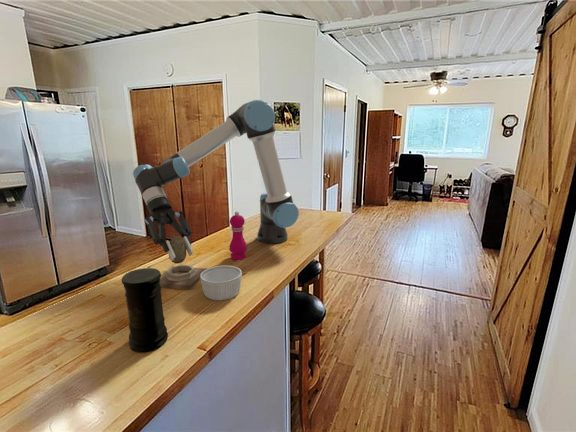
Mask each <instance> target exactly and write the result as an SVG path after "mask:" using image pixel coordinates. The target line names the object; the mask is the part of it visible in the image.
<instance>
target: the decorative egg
mask: <svg viewBox="0 0 576 432" xmlns="http://www.w3.org/2000/svg"><path fill="white" fill-rule="evenodd" d="M182 239H183V238H182V237H181V236H179V235H173V237H172V238H171V240H170V241H169V243H170V245H171V247H172V249H173V251H174V254H175V256H176V257H175V259H174V260H173V261H171V259H170V257H169V254H168V253H167V255H168V258H169V260H170V261H171V262H172V263H173V264H182V263H183V262H184V261H185V260H186V258H187V250H186V247H185V244H184V242H183V240H182Z"/></svg>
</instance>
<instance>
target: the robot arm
mask: <svg viewBox="0 0 576 432" xmlns="http://www.w3.org/2000/svg"><path fill="white" fill-rule="evenodd" d="M275 120H276V114H275V110H274V108H273V107H272V106H271V104H270V103H268V102H267V101H265V100H263V99H254V100H251V101H249V102H246V103H244V104H241V106H240V107H238V108H237V109H236V110H235V111H234V112H233V113H231V114H229V115H228V116H227V117H226V120H225V121H224V122H222V123H221V124H219V125H218V126H216V127H215V128H213V129H211V130H209V131H208V132H207V133H205V134H203V135H202V136H201V137H199V138H197V139H196V140H195V141H193V142H191V143H190V144H188V145H186V146H184V147H183V148H182V149H180V150H179V151H177V152H176V153H174V154H172V155H171V156H169V157H167V158H165V159H164V160H163V161H162V162H161V163H160V164H159V165H157V166H151V164H146V163H145V164H140V165H137V166H136V167H135V168H134V170H133V172H132V176H133V178H134V180H135V184H136V186H137V188H138V190H139V192H140V194H141V196H142V198H143V201H144V203H145V205H146V207H147V210H148V212H149V214H150V216H146V217H145V220H144V223H145V225H146V226H147V227H148V231H149V233H150V236H151V238H152V241H153V243H154V245H159V246H160V247H162V249H163V251H164V253H167V255H168V254H169V255H168V258H169V257H170V258H169V260H170V259H171V260H170V261H171V262H172V261H173V260H174V259H175V257H176V256H175V254H174V251H173V249H172V247H171V245H170V241H169V240H166V239H167V238H166V231H165V230H166V229H165V225H169V226H170V227H172V228H173V229H174V230H175V231H176V232H177V233H178V235H180V238H181V239H182V240H183V242H184V244H185V247H186V253H187V254H188V256H189V257H191V256H192V255H193V254H194V249H193V248H192V245H193V244H192V243H193V242H192V241H191V239H190V236H191V235H192V233H193V231H192V229H191V227H190V226H189V224H188V222H187V220H186V218H185V217H184V212H183V211H182V210H180V211H178V212H177V211H175V210H174V209H173V208H172V204H171V203H170V201H169V199H168V197H167V194H166V192H165V190H164V188H163V187H164V186H166V185H168V184H170V183H173V182H175V181H177V180H179V179H183V178H185V177H186V176H188V175H190V173H191V170H190V167H191V166H193V165H194V164H196V163H197V162H199V161H200V160H202V159H203V158H205V157H206V156H208V155H209V154H211V153H213V152H214V151H215V150H217V149H219V148H220V147H223V145H225V144H227V143H228V142H229V141H231V140H233V139H234V138H236V137H239V138H240V137H241V136H243V135H245V134H246V136H247V137H246V138H247V139H248V140H249V141H251V142H252V144H253V149H254V151H255V155H256V159H257V163H258V166H259V170H260V174H261V177H262V180H263V181H262V182H263V185H264V188H265V191H266V193H262V194H260V196H259V202H260V203H259V206H260V207H259V208H260V209H259V212H260V214H259V215H260V225H259V228H258V231H257V234H256V235H257V236H256V237H257V241H259V242H261V243H263V244H264V243H265V244H280V243H283V242H287V240H288V237H289V235H288V232H287V229H288V228H290V227H292V226H293V225H295V223H297V221H298V219H299V215H300V213H299V209H298V207H297V205H296V204H295V203H294V200H293V197H292V194H291V192H289V191H287V187H286V182H285V179H284V175H283V172H282V168H281V164H280V160H279V156H278V153H277V148H276V143H275V140H274V134H275V133H276V130H275V125H274V123H275ZM177 220H178V221H177ZM154 222H155V223H157V226H158V231H157V229H156V228H157V227H156V226H155V223H154ZM158 232H159V234H158Z"/></svg>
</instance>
